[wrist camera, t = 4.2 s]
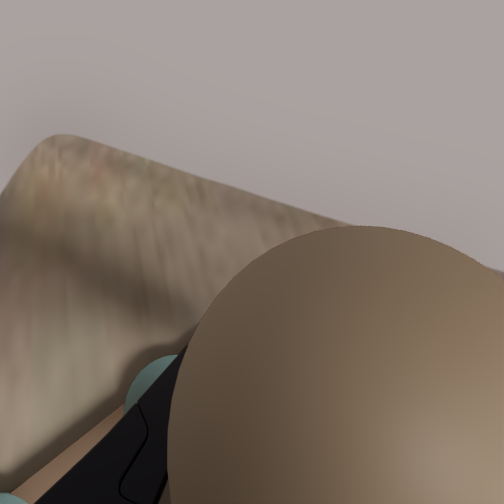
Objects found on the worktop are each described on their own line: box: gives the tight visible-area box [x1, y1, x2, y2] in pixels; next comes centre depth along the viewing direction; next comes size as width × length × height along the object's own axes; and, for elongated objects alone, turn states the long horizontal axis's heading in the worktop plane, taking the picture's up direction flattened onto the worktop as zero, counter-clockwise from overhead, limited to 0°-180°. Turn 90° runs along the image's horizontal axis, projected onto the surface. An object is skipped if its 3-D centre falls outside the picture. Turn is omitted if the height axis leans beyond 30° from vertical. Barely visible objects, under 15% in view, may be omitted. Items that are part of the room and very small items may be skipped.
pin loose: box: [167, 226, 504, 504], centre depth 8 cm, size 3×3×13 cm
